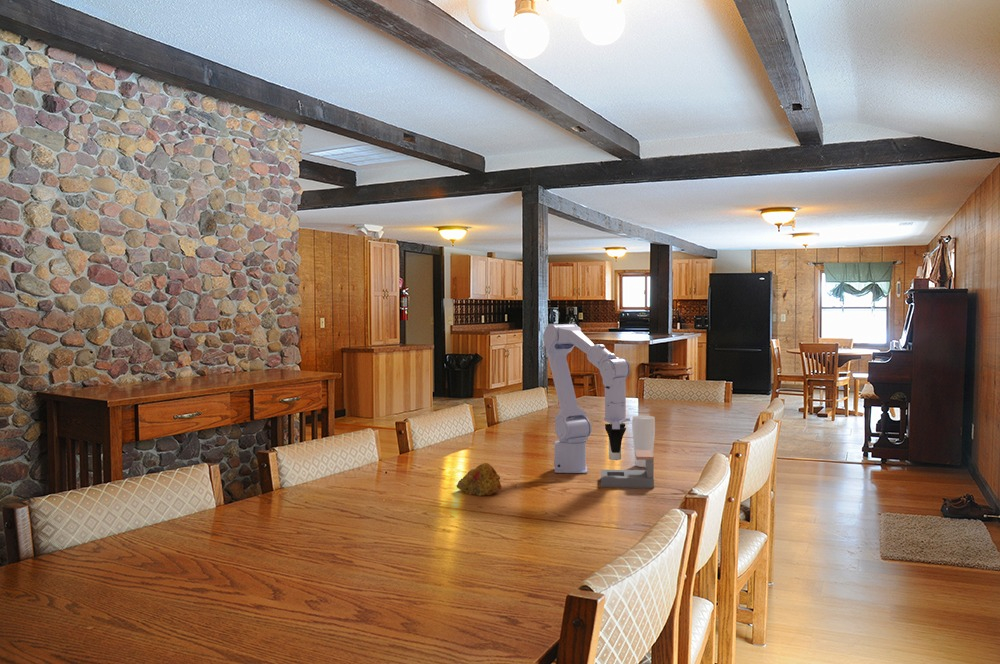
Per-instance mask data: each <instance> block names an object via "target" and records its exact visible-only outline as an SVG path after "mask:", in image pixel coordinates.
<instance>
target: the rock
mask: <svg viewBox="0 0 1000 664" xmlns="http://www.w3.org/2000/svg"><path fill="white" fill-rule="evenodd" d="M500 479H501V476H500V475H498V473H497V471H496V470H495V468H494V466H492V465H490V464H489V462H484V463H481V464H479V465H477V466H476V467H475V468H473V469H470V470H469V471H468V472H467V473H466V474H465V475H464V476H463V477H462V478H461V479H459V481H458V482H457V484H456V488H457V489H459V490H460V491H462V492H464V493H466V494H467V495H470V494H472V495H477V496H478V497H485V496H491V495H493V493H497V492H500V491H501V490H502V485H501V481H500Z"/></svg>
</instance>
